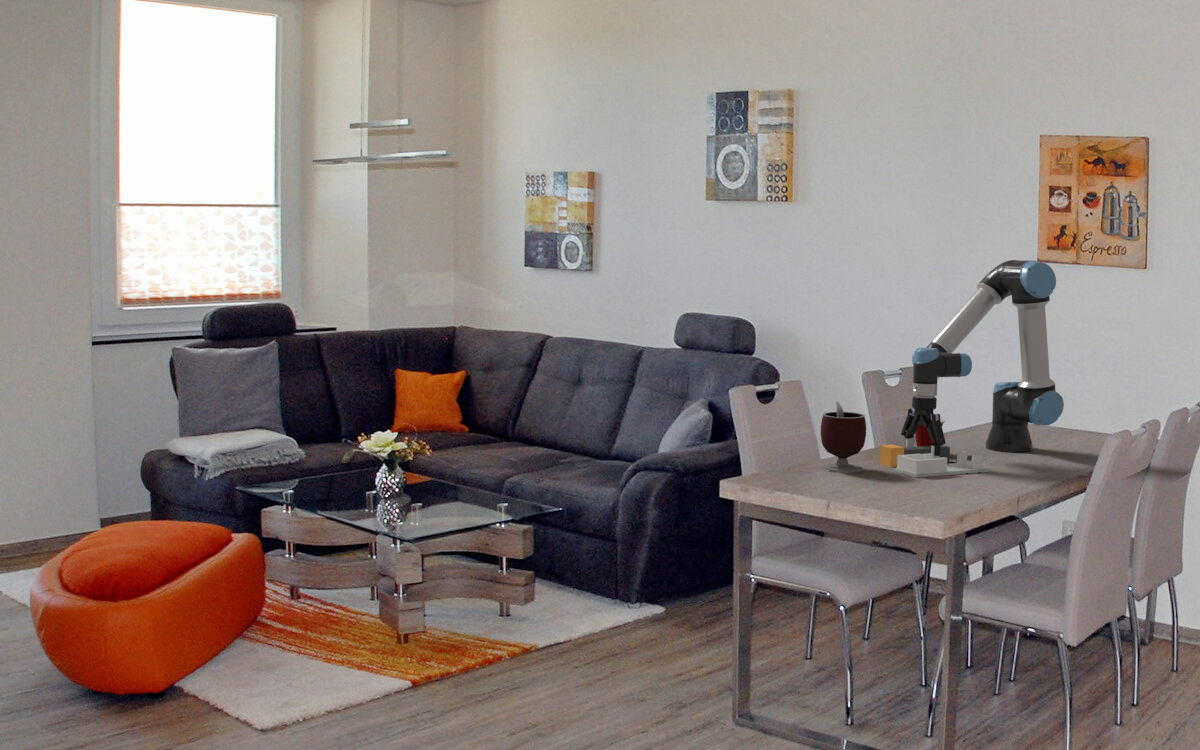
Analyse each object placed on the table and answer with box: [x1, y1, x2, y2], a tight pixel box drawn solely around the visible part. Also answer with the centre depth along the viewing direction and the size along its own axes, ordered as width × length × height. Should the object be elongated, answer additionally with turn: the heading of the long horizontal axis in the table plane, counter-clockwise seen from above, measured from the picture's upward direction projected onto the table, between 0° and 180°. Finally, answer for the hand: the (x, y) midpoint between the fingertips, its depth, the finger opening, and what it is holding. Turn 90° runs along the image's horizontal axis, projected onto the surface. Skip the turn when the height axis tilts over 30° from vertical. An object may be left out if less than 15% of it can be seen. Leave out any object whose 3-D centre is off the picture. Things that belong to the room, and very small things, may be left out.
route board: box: [894, 450, 991, 478], centre depth 388 cm, size 27×11×5 cm, turn 111°
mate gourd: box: [820, 401, 867, 474], centre depth 390 cm, size 16×14×20 cm
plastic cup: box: [914, 417, 946, 447], centre depth 419 cm, size 11×11×12 cm
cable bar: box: [879, 444, 951, 468], centre depth 401 cm, size 23×6×6 cm, turn 111°
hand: (921, 462), depth 402 cm, fingers open, 13 cm apart
